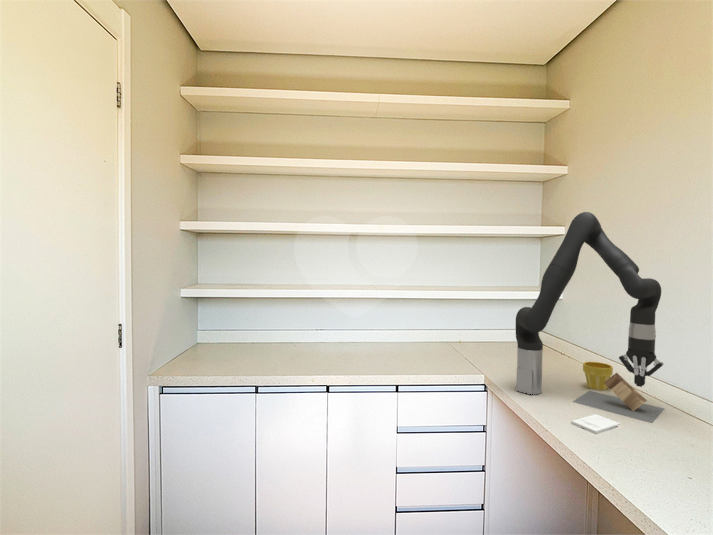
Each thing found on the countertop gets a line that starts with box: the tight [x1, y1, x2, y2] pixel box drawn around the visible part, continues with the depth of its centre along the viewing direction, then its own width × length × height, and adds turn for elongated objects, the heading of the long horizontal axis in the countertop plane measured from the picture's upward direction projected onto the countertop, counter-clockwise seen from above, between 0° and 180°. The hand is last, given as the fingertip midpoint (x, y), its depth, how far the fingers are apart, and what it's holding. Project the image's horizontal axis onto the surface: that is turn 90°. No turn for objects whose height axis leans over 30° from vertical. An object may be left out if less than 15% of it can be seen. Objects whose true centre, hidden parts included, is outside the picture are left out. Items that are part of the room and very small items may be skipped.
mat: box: [572, 390, 665, 424], centre depth 143 cm, size 18×24×1 cm
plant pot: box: [582, 361, 614, 391], centre depth 162 cm, size 10×10×10 cm
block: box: [604, 372, 648, 411], centre depth 141 cm, size 4×4×12 cm
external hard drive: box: [570, 413, 621, 435], centre depth 128 cm, size 2×8×12 cm
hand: (639, 385), depth 137 cm, fingers closed
